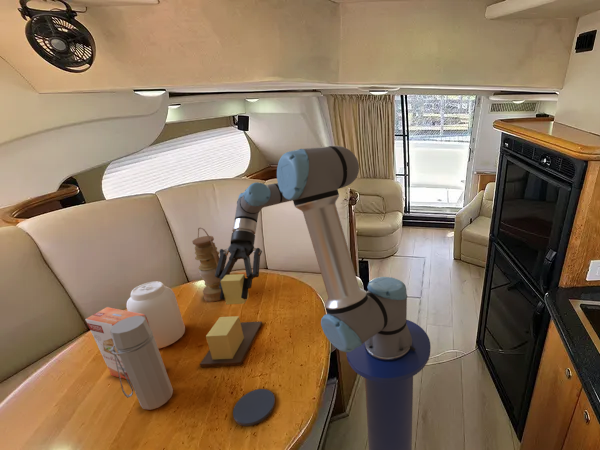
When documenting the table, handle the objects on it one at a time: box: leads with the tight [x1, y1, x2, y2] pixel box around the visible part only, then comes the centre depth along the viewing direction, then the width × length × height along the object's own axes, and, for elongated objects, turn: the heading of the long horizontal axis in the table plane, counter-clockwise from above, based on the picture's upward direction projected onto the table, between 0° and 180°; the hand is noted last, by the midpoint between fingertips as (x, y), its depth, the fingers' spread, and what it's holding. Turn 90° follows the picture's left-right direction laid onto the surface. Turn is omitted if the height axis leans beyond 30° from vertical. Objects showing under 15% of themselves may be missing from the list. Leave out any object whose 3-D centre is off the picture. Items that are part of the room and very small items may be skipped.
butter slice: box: [220, 273, 250, 305], centre depth 103 cm, size 6×4×9 cm, turn 94°
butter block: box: [205, 315, 244, 360], centre depth 98 cm, size 6×9×9 cm, turn 4°
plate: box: [232, 388, 276, 427], centre depth 82 cm, size 10×10×1 cm
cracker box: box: [85, 306, 167, 381], centre depth 88 cm, size 14×6×21 cm, turn 76°
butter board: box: [199, 321, 263, 368], centre depth 103 cm, size 12×19×1 cm, turn 4°
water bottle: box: [110, 316, 174, 411], centre depth 79 cm, size 9×8×25 cm
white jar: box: [126, 280, 186, 350], centre depth 103 cm, size 12×12×20 cm
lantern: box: [191, 227, 223, 303], centre depth 125 cm, size 15×10×30 cm
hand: (233, 298), depth 102 cm, fingers closed on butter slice, 6 cm apart
